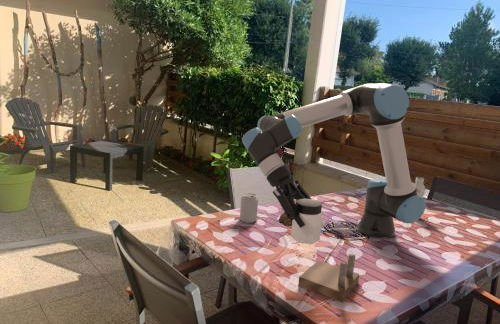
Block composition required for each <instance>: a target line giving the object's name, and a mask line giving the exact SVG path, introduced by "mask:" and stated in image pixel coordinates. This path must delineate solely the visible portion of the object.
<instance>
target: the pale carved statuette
mask: <svg viewBox="0 0 500 324" xmlns="http://www.w3.org/2000/svg"><path fill="white" fill-rule="evenodd" d="M413 183H414V184H415V185H416V189H417V194H418V195H419V196H421V197H422V198H423V199H424V196H425V192H426V186H425V185H424V183H425V177H421V176H416V177H415V182H413Z"/></svg>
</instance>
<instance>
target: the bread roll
mask: <svg viewBox="0 0 500 324" xmlns="http://www.w3.org/2000/svg"><path fill="white" fill-rule="evenodd" d="M289 214H290V213H289ZM277 221H278V222H279V223H281V224H284V225H286V226H291V227H292V221H293V220H292V221H291V220H290V219H288V217H287V215H286V214H285V212H284V211H283V213H282V214H280V216H279V219H278V220H277Z"/></svg>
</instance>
